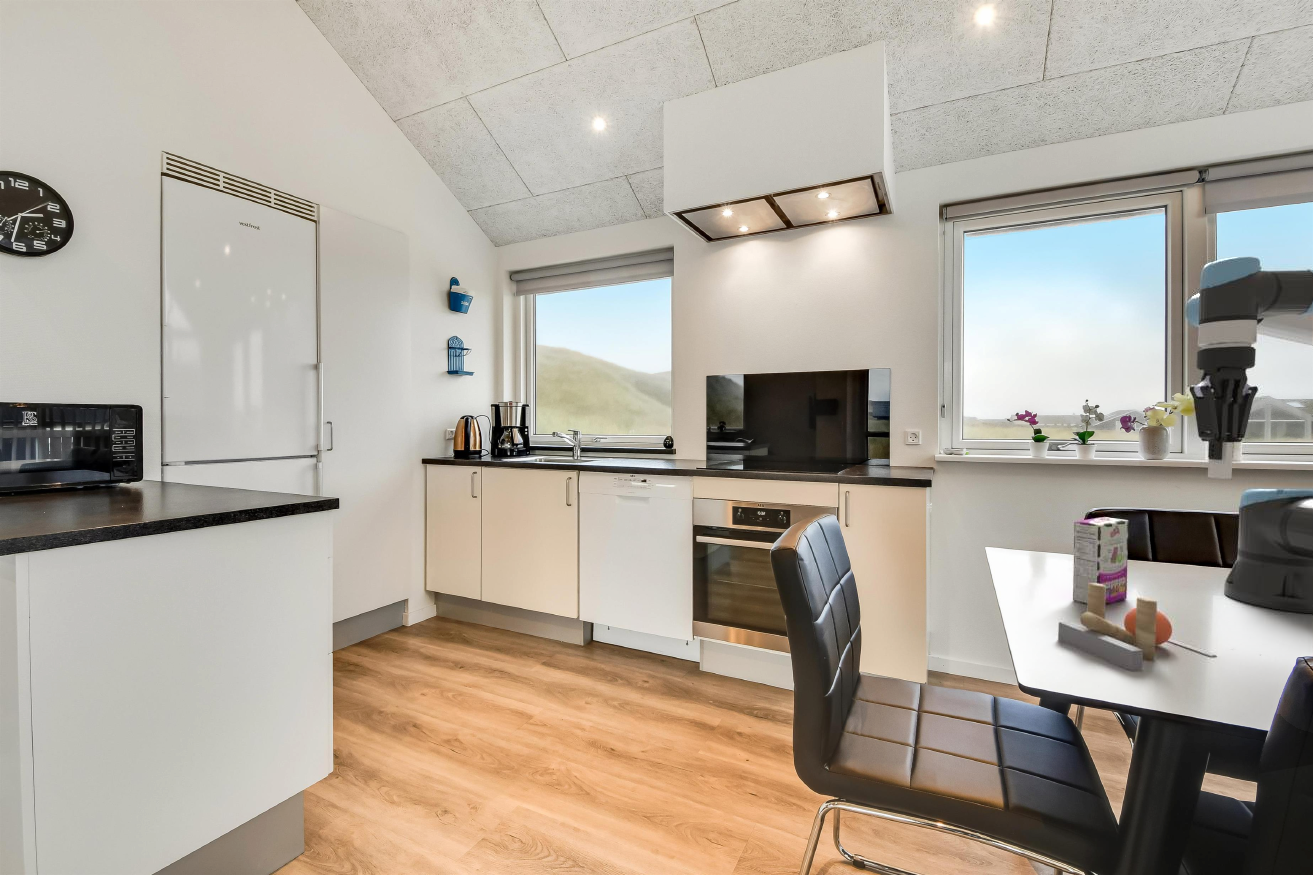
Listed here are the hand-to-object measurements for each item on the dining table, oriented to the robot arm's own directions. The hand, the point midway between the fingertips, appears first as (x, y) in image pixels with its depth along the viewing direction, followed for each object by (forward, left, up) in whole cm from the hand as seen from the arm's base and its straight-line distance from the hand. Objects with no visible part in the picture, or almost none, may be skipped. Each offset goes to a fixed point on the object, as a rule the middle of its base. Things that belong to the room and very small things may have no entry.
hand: (1219, 477), depth 104 cm
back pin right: (+29, +2, -26) cm, 39 cm away
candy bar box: (+9, -14, -27) cm, 31 cm away
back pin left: (+29, +10, -26) cm, 40 cm away
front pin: (+27, +6, -25) cm, 38 cm away
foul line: (+18, +6, -26) cm, 33 cm away
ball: (+23, +6, -23) cm, 33 cm away
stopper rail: (+35, +8, -26) cm, 44 cm away
